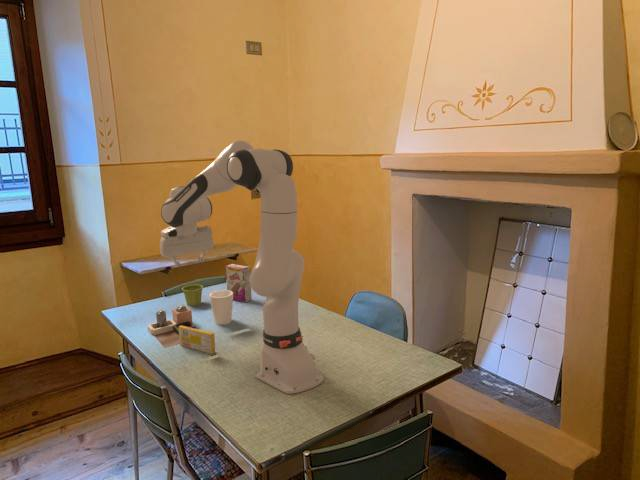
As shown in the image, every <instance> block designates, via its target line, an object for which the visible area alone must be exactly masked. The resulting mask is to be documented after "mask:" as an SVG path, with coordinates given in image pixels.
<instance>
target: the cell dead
mask: <svg viewBox="0 0 640 480" xmlns="http://www.w3.org/2000/svg"><path fill="white" fill-rule="evenodd" d="M176 309H177V312H178V313H179V312H183V311H186V306H185V305H180V306H178V307H176Z"/></svg>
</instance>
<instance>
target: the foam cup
mask: <svg viewBox="0 0 640 480" xmlns="http://www.w3.org/2000/svg"><path fill="white" fill-rule="evenodd" d="M208 298H209V302H210V305H211V310H212V315H213V319H214V322H215V323H214V324H216V325H220V326H222V325H223V326H224V325H228V324H230V323H231V322H232V320H233V319H232V316H233V303H234V302H233V301H234V300H233V292H232V291H229V290H227V289H222V290H215V291H212V292H210V293H209V297H208Z"/></svg>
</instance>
